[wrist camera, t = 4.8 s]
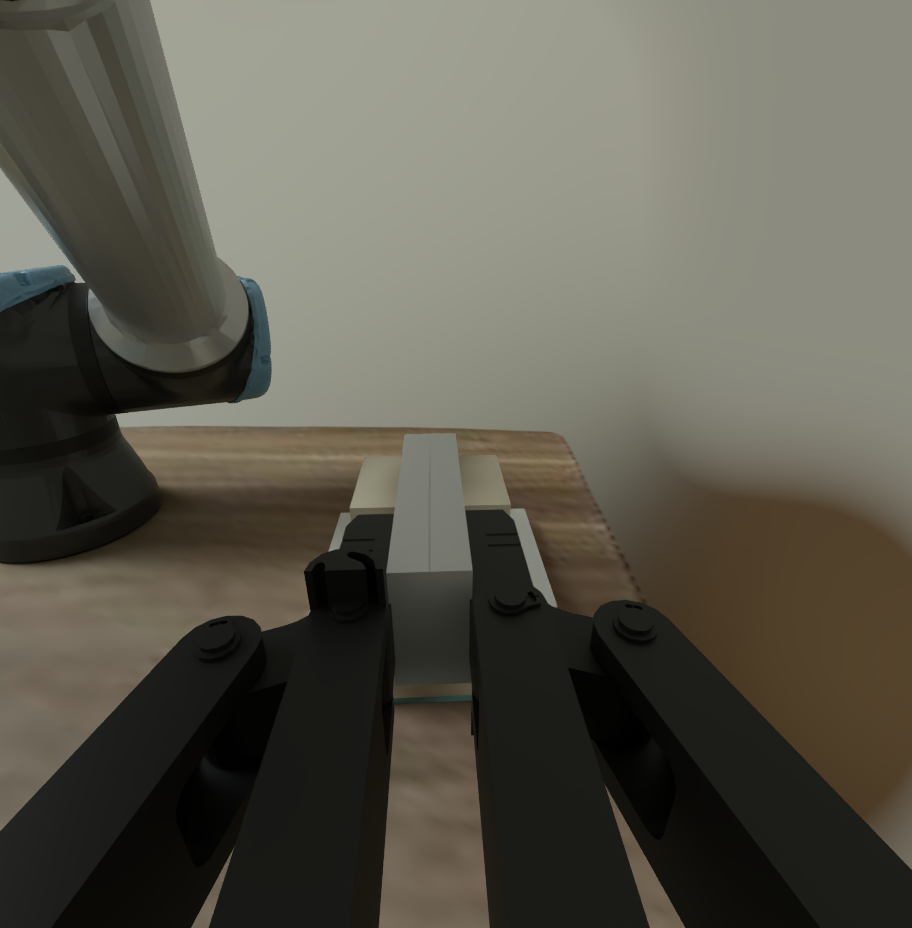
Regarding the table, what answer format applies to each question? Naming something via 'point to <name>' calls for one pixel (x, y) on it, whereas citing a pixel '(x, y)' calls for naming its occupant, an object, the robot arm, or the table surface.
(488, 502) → the birch block
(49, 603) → the table surface
